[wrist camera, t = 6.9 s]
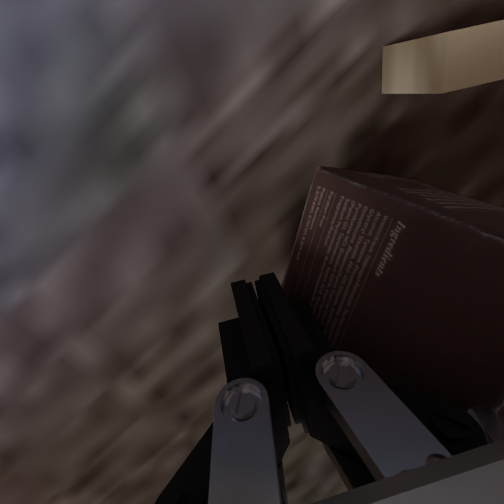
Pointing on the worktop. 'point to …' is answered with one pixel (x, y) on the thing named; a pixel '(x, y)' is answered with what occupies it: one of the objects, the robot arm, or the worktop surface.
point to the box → (405, 282)
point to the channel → (445, 61)
